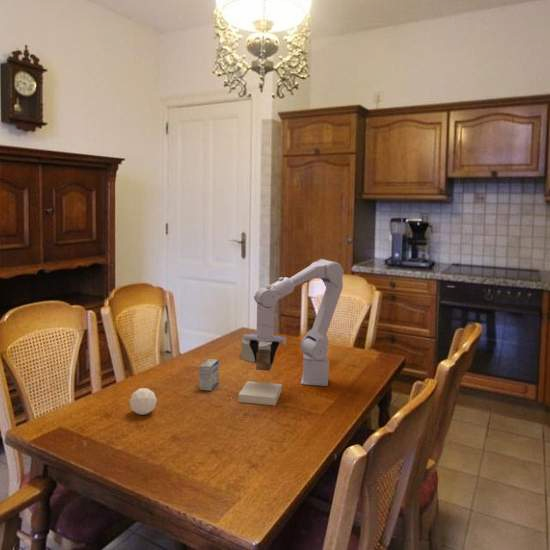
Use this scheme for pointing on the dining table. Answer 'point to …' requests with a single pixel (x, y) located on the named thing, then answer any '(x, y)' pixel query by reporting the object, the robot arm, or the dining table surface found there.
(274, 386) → the base block
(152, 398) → the geometric ball
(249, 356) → the lumpy-topped squat cylinder
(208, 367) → the medicine box
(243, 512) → the dining table surface
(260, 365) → the walnut block
